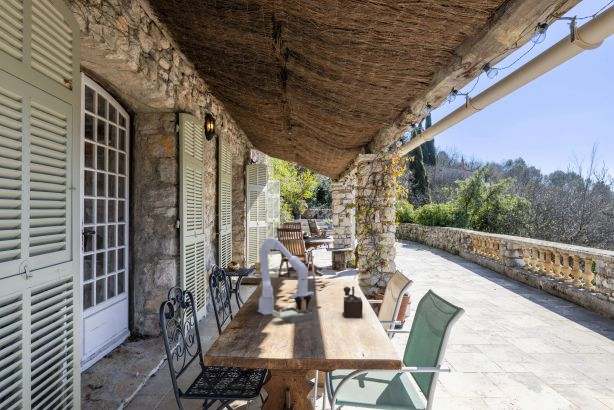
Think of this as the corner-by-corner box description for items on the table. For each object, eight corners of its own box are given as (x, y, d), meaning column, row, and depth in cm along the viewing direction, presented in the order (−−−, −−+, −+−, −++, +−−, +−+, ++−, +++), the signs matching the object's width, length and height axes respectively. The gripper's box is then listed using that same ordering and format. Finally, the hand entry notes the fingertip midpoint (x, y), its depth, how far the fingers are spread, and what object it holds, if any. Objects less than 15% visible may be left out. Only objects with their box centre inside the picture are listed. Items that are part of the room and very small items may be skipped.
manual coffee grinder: (342, 312, 207) (342, 281, 207) (361, 313, 206) (361, 282, 206) (343, 320, 191) (343, 287, 191) (363, 321, 190) (363, 288, 191)
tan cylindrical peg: (297, 311, 208) (298, 299, 208) (303, 310, 210) (303, 298, 210) (301, 313, 205) (301, 301, 205) (307, 312, 207) (307, 300, 207)
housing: (276, 316, 199) (276, 309, 199) (297, 312, 207) (297, 306, 207) (291, 323, 186) (291, 317, 186) (312, 319, 193) (312, 312, 193)
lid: (272, 315, 188) (272, 310, 188) (291, 311, 195) (291, 306, 195) (278, 318, 182) (278, 313, 182) (298, 314, 189) (298, 309, 189)
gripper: (295, 288, 200) (295, 312, 200) (316, 285, 208) (316, 308, 208) (289, 286, 206) (289, 309, 206) (310, 283, 214) (309, 306, 214)
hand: (302, 309), depth 208 cm, fingers closed on tan cylindrical peg, 4 cm apart
